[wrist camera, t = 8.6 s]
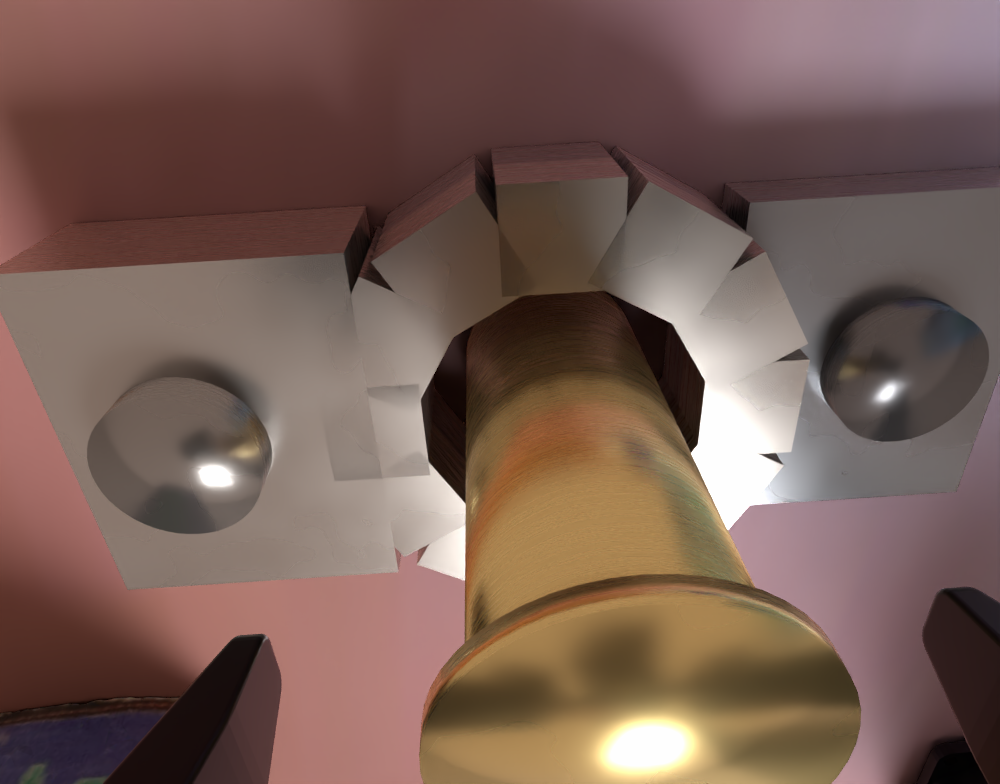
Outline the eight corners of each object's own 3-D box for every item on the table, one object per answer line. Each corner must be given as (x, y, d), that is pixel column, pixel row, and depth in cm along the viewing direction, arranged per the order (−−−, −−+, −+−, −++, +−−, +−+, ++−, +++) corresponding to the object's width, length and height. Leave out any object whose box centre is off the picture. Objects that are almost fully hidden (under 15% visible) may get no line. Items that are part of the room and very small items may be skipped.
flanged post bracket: (1031, 115, 14) (1202, 154, 11) (912, 485, 19) (1005, 590, 16) (52, 175, 14) (-76, 232, 11) (186, 532, 19) (126, 648, 16)
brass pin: (661, 247, 15) (912, 588, 7) (647, 434, 18) (815, 856, 9) (435, 261, 15) (392, 622, 7) (454, 447, 18) (440, 881, 9)
